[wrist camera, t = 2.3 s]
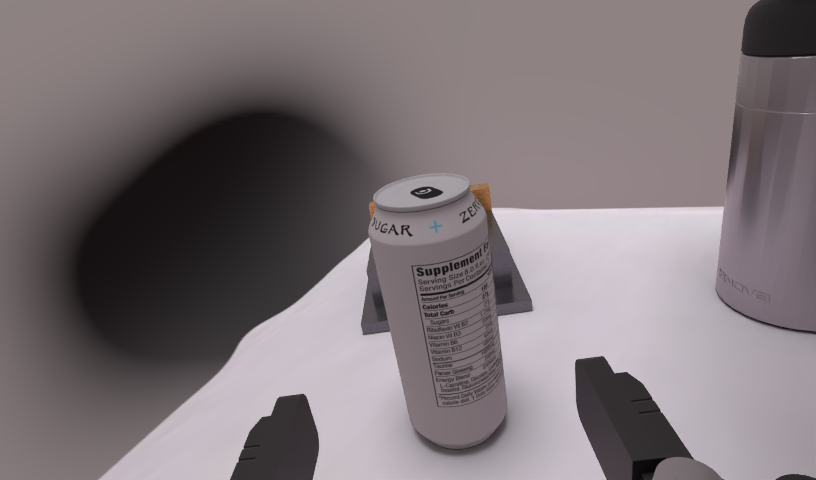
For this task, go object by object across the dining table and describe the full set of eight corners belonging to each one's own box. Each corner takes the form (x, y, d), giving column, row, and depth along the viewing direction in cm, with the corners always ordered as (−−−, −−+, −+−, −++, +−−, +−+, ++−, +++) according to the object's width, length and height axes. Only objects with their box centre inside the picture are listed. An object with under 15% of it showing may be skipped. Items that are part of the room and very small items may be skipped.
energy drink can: (471, 370, 33) (441, 163, 27) (529, 423, 28) (508, 182, 22) (395, 410, 31) (343, 193, 25) (443, 475, 25) (393, 223, 19)
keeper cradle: (501, 240, 51) (495, 178, 48) (532, 310, 38) (526, 232, 35) (374, 259, 52) (361, 200, 49) (363, 334, 39) (344, 260, 36)
